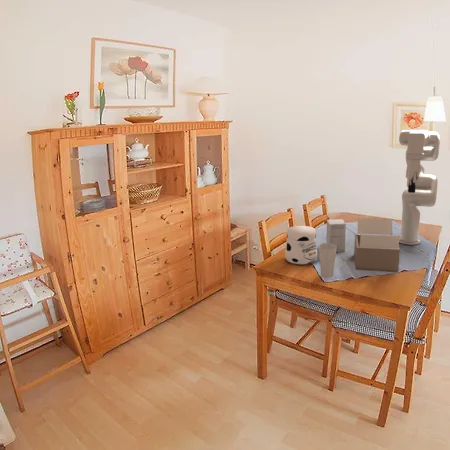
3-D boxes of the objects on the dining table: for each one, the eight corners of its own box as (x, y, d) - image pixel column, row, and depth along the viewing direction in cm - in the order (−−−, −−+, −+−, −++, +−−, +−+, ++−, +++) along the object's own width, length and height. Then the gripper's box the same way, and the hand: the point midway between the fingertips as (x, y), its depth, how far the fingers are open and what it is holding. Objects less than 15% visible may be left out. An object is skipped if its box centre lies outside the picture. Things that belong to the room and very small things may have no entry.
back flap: (357, 233, 212) (357, 233, 213) (392, 234, 208) (392, 234, 208) (357, 218, 213) (357, 218, 213) (392, 218, 208) (392, 219, 209)
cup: (336, 279, 189) (337, 249, 184) (318, 278, 190) (319, 249, 186) (335, 272, 196) (336, 243, 192) (317, 271, 198) (318, 242, 194)
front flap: (360, 234, 188) (360, 234, 188) (400, 235, 183) (400, 236, 183) (359, 246, 194) (359, 247, 193) (397, 248, 189) (397, 248, 189)
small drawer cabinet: (342, 246, 230) (343, 218, 225) (345, 251, 221) (346, 223, 216) (325, 246, 231) (326, 219, 226) (328, 252, 222) (329, 224, 217)
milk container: (315, 268, 201) (316, 236, 196) (282, 266, 207) (282, 234, 201) (318, 256, 217) (319, 225, 212) (287, 254, 222) (287, 224, 217)
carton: (354, 254, 216) (355, 234, 213) (392, 256, 211) (394, 236, 207) (355, 269, 198) (356, 247, 194) (398, 272, 193) (400, 249, 189)
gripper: (404, 154, 204) (401, 189, 210) (409, 159, 191) (405, 195, 196) (419, 154, 203) (416, 189, 208) (426, 158, 189) (422, 195, 194)
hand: (411, 192), depth 202 cm, fingers closed
